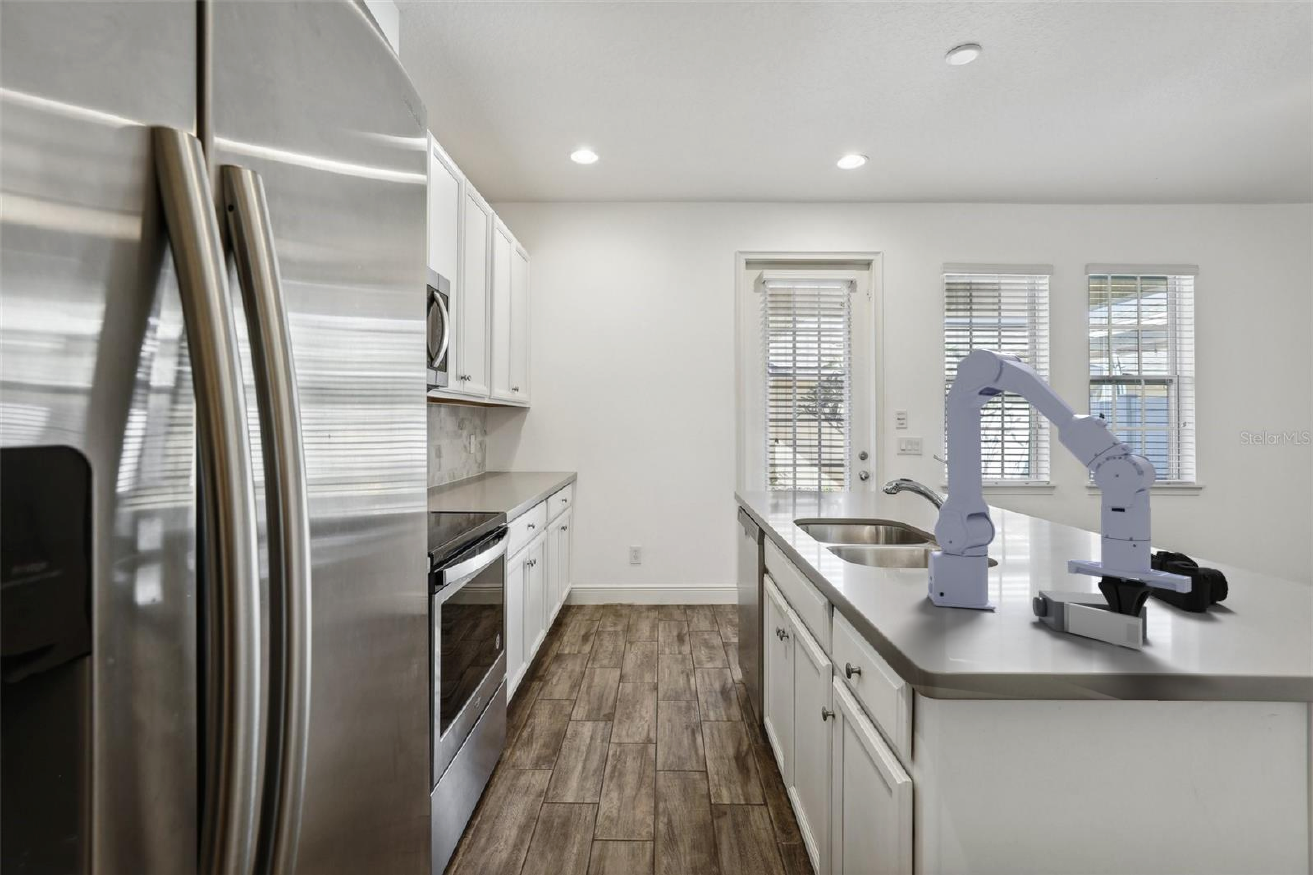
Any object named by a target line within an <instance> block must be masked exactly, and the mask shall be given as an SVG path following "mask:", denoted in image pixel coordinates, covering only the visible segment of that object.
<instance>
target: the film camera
mask: <svg viewBox="0 0 1313 875" xmlns="http://www.w3.org/2000/svg"><path fill="white" fill-rule="evenodd" d="M1151 569H1153V570H1157V571H1162V572H1166V573H1171V574H1176V575H1181V576H1187V577H1191V591H1190V592H1187V593H1182V592H1177V591H1176V590H1171V589H1165V588H1159V587H1154V589H1153V591H1152V593H1151V594H1150V596H1151V597H1153V598H1155V599H1157V600H1159V601H1161V600H1162V602H1163V601H1164V603H1166V604H1168V605H1170V604H1171V605H1170V606H1172V607H1175V608H1176V609H1179V610H1181V611H1184V612H1189V613H1193V614H1194V613H1196V614H1204V613H1206V612H1207V609H1208V608H1209V607H1210V604H1213V603H1217V602H1224V601H1225V600H1226V599H1227V597H1228V594H1229V584H1228V581H1227V579H1226V576H1225V575H1224V573H1223V572H1222V571H1220V569H1219V570H1218V569H1217V568H1211V567H1206V566H1205V567H1204V566H1201V567H1199V565H1198V563H1197V562H1196V561H1195V560H1193V559H1192V558H1191V557H1189V556H1187V555H1186V554H1184V553H1182V552H1170V551H1168V550H1157V551H1156V554H1154V553H1151Z"/></svg>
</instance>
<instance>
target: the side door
mask: <svg viewBox="0 0 1313 875" xmlns="http://www.w3.org/2000/svg"><path fill="white" fill-rule="evenodd" d="M1064 631H1067V632H1068V633H1072V634H1075V635H1079V636H1083V637H1086V638H1087V637H1088V638H1091V639H1096V640H1099V641H1103V642H1107V643H1111V644H1115V645H1120V646H1123V647H1127V648H1131V649H1134V650H1139V651H1140V650H1142V649H1143V637H1142V618H1138V617H1133V616H1129V615H1124V614H1119V613H1115V612H1110V611H1105V610H1101V609H1096V608H1091V607H1086V606H1082V605H1077V604H1072V603H1071V604H1070V603H1068V602H1064ZM1064 631H1063V632H1064Z"/></svg>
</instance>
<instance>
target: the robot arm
mask: <svg viewBox="0 0 1313 875" xmlns="http://www.w3.org/2000/svg"><path fill="white" fill-rule="evenodd" d="M1005 392H1009V393H1012V394H1016V395H1019V396H1020V397H1022V398H1023V399H1024V401H1026V402H1028V404H1030V405H1031V406H1032V407H1033V408H1034V409H1035V410H1036V411H1038V412H1039V413H1040V414H1041V415H1042V416H1044V417H1045V418H1046V419H1047V420H1049V422H1050V423H1052V424H1053V425H1054V426H1055V427H1056V428H1057V429H1058V433H1057V434H1058V442H1060V443H1061V444H1062V446H1064V447H1065V448H1066V449H1067V450H1068V451H1069V452H1070V453H1071V454H1072V455H1073V456H1074V457H1075V458H1076V459H1077V460H1078V461H1080V463H1081V464H1082V465H1083V466H1084V467H1086V468H1087V470H1088V471H1089V472H1093V475H1092V477H1093V481H1094V483H1095V485H1096V486H1097V488H1098V489H1099V490H1100V492H1101V505H1100V535H1101V536H1100V561H1093V560H1091V561H1090V560H1083V559H1075V558H1073V559H1067V573H1068V574H1074V575H1075V574H1076V575H1077V574H1079V575H1085V576H1091V577H1096V578H1101V580H1100V581H1098V582H1097V586H1098V589H1099V590H1100V592H1101V594H1103V595H1104V597H1105V599H1106V600H1107V602H1108V605H1109V607H1110V609H1111V612H1115V613H1119V614H1124V615H1129V616H1133V617H1138V616H1139V614H1140V611H1141V609H1142V607H1143V605H1144V606H1145V603H1146V601H1147V600H1148V598H1150V596H1151V595H1150V594H1151V593H1152V591H1153V589H1154V587H1159V588H1165V589H1171V590H1176V591H1177V592H1182V593H1187V592H1190V591H1191V577H1187V576H1181V575H1176V574H1171V573H1166V572H1162V571H1157V570H1153V569H1151V554H1152V553H1151V552H1152V549H1151V548H1152V546H1151V545H1152V541H1151V540H1152V532H1151V531H1152V530H1151V529H1152V526H1151V525H1152V524H1151V522H1152V515H1151V510H1152V509H1151V490H1150V489H1151V488H1152V487H1153V485H1154V483H1155V482H1156V479H1157V471H1156V469H1155V466H1154V464H1153V463H1151V461H1150V459H1149V457H1147V456H1146V455H1142V454H1138V453H1133V452H1132V451H1134V450H1135V448H1134V447H1133V446H1132V445H1131V444H1130V443H1126V444H1125V443H1123V441H1121V440H1120V439H1119V438H1118V437H1117V436H1115V434H1114V433H1112V431H1110V430H1109V429H1108V428H1107V427H1108V426H1109V423H1108V422H1107V421H1106V420H1105V419H1103V418H1095V417H1094V416H1093V415H1090V414H1079V413H1077V412H1076V411H1075V409H1073V407H1071V406H1070V405H1069V404H1068V403H1067V402H1066V401H1065V400H1064V399H1063V397H1061V396H1060V395H1059V393H1057V392H1056V391H1055V390H1054V388H1053V387H1051V385H1049V383H1048V382H1046V381H1045V380H1044V379H1043V378H1042V377H1041V375H1039V373H1037V372H1036V370H1035V369H1034V368H1033V367H1032V366H1030V365H1029V364H1028V363H1026V362H1023V361H1022V359H1021V358H1020V357H1019V356H1017V355H1016V354H1014V353H1009V352H1008V353H1007V352H1005V353H1003V352H998V351H992V350H990V349H984V348H982V349H976V350H973V351H972V352H970V353H968V354H967V355H966V356H965V357H963V359H962V360H961V361H959V362H958V363H957V364H956V376H955V378H954V379H953V382H952V384H951V386H950V388H949V391H948V393H947V395H946V401H945V403H946V404H945V405H946V406H945V407H946V410H945V411H946V459H947V460H946V461H947V462H946V463H947V465H946V468H947V497H946V499H945V500H944V501H943V503H942V504H941V506H940V507H939V510H938V511H939V512H938V519H937V522H936V524H935V525H934V531H933V533H934V534H933V535H934V537H935V538H934V539H935V540H936V543H937V544H938V545H939V547H940V548H941V550H940V551H939V550H937V551H929V554H928V561H927V562H928V563H927V564H928V565H927V566H928V568H927V570H928V571H927V572H928V577H927V578H928V579H927V581H928V582H927V583H928V584H927V588H928V589H927V591H928V592H927V596H928V597H929V599H930V600H931V601H932V603H933V605H935V606H938V607H949V608H950V607H953V608H967V609H968V608H969V609H982V610H983V609H984V610H996V609H997V608H996V605H995V604H993V603H992V602H991V601H990V599H989V545H990V544H992V543H993V541H994V539H995V536H996V527H995V524H994V522H993V520H992V519H991V515H990V507H989V505H988V504H987V503H986V502H987V501H985V500H984V497H983V476H982V474H983V473H982V472H983V469H982V468H983V467H982V463H983V462H982V426H981V425H982V421H981V418H982V417H981V409H982V408H983V407H984V406H985V405H986V404H988V402H990V401H991V400H992V399H993V398H994V397H995V396H997V395H1000V394H1003V393H1005Z"/></svg>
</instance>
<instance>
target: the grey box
mask: <svg viewBox="0 0 1313 875" xmlns="http://www.w3.org/2000/svg"><path fill="white" fill-rule="evenodd" d="M1064 602H1068V603H1070V604H1071V603H1072V604H1077V605H1082V606H1086V607H1091V608H1096V609H1101V610H1105V611H1110V612H1111V609H1110V607H1109V605H1108V602H1107V600H1106V599H1105V597H1104V595H1103V594H1102V593H1095V592H1093V593H1092V592H1091V593H1090V592H1075V591H1074V592H1071V591H1057V590H1056V591H1054V590H1038V597H1037V596H1034V597H1033V598H1032V612H1033V615H1034V616H1035V617H1038V618H1039V619H1040V620H1041V621H1043V623H1044V624H1046V625H1047V626H1048V627H1049V628H1051V630H1053V631H1054V632H1067V631H1064ZM1147 610H1148V608H1147V606H1146V605H1145V604H1144V605H1143V607H1142V609H1141V611H1140V614H1139V616H1138V618H1142V638H1147V637H1148V632H1147V630H1148V628H1147V626H1148V625H1147V623H1148V621H1147V620H1148V617H1147V614H1148V612H1147Z"/></svg>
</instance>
